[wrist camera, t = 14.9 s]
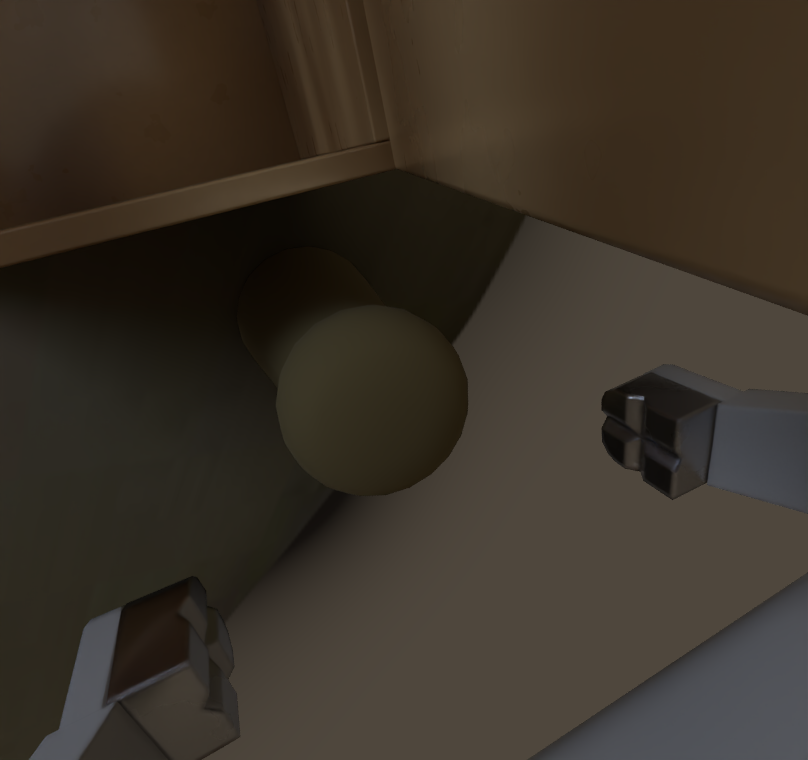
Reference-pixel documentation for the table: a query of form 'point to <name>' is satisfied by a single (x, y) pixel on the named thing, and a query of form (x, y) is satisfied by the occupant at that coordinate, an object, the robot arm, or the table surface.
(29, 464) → the table surface
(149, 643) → the robot arm
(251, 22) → the bin
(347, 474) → the olive tapered rounded piece
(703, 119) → the bin lid
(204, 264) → the table surface
